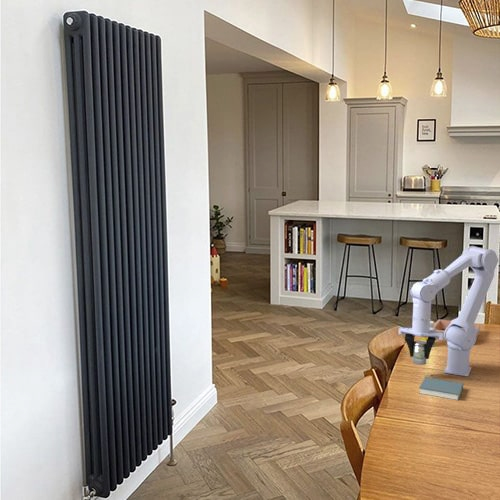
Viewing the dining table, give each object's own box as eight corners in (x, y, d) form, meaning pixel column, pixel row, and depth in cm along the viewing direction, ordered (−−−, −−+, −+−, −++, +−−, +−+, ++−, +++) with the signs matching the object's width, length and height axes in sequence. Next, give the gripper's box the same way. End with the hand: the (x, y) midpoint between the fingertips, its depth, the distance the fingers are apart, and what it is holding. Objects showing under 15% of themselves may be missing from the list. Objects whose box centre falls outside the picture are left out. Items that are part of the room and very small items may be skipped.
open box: (437, 328, 269) (438, 319, 268) (479, 333, 261) (480, 324, 260) (430, 339, 254) (430, 329, 253) (474, 345, 246) (474, 335, 245)
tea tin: (413, 359, 214) (414, 339, 212) (427, 361, 212) (428, 341, 210) (410, 363, 210) (411, 343, 208) (424, 365, 207) (425, 345, 206)
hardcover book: (425, 383, 207) (425, 376, 206) (462, 390, 201) (463, 383, 201) (418, 394, 198) (419, 387, 197) (458, 401, 193) (458, 394, 192)
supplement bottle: (426, 342, 250) (428, 319, 248) (437, 345, 245) (438, 322, 244) (417, 344, 247) (418, 321, 245) (428, 348, 242) (429, 324, 241)
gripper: (396, 318, 208) (395, 357, 210) (441, 323, 201) (439, 364, 203) (401, 313, 214) (400, 351, 216) (445, 318, 207) (443, 357, 210)
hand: (419, 357), depth 210 cm, fingers closed on tea tin, 4 cm apart
